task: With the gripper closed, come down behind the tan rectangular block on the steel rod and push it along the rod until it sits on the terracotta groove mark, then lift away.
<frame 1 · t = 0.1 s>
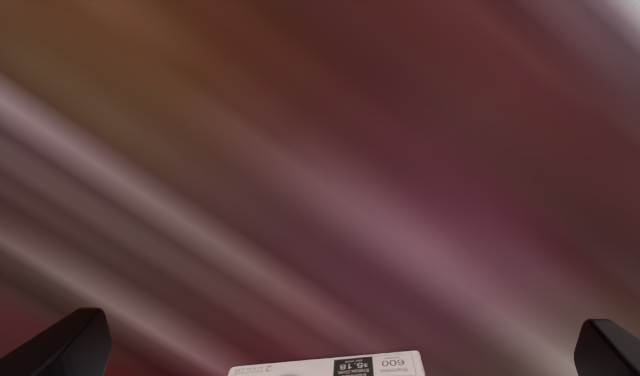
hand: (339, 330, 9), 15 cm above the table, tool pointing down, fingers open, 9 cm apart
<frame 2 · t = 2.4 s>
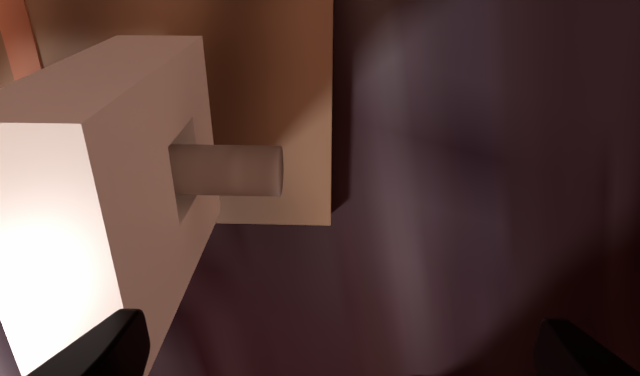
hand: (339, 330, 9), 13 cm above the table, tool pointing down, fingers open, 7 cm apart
rod stand: (98, 108, 21), on the table
tan rectangular block: (127, 182, 15), point 7 cm above the table, slide at 0.0 cm
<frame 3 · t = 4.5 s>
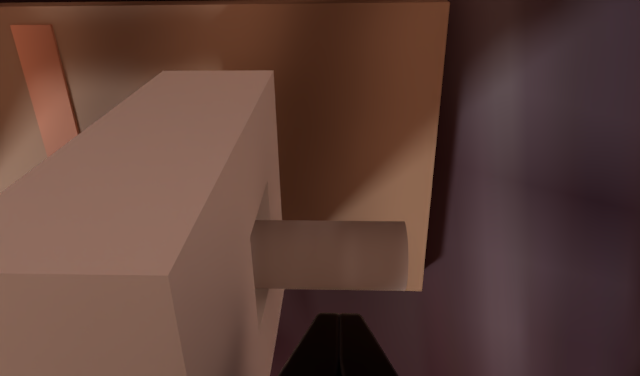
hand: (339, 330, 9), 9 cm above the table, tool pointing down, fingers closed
rod stand: (139, 153, 17), on the table
tan rectangular block: (189, 279, 11), point 7 cm above the table, slide at 0.3 cm, touching gripper
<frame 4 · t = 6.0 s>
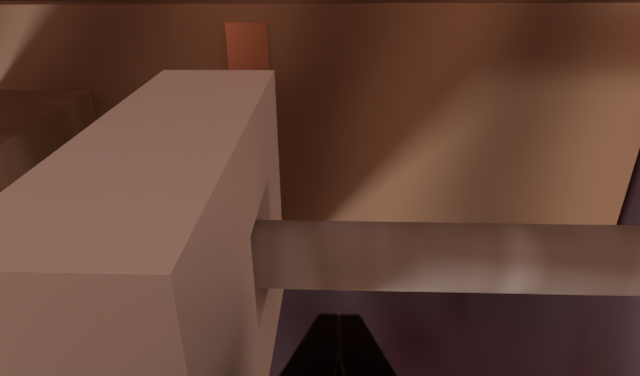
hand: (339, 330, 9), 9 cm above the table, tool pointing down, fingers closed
rod stand: (318, 154, 17), on the table
tan rectangular block: (189, 278, 11), point 7 cm above the table, slide at 6.6 cm, touching gripper
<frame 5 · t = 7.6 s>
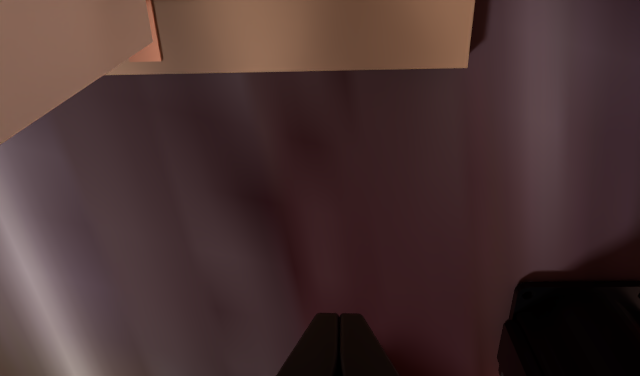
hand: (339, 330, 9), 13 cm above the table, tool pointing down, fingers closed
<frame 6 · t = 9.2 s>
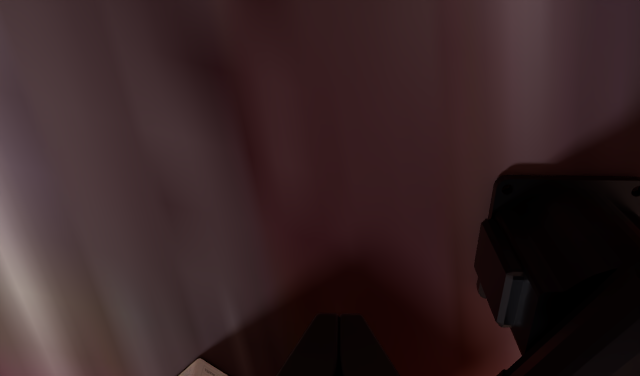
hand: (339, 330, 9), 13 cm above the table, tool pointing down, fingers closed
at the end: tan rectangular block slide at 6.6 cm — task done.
